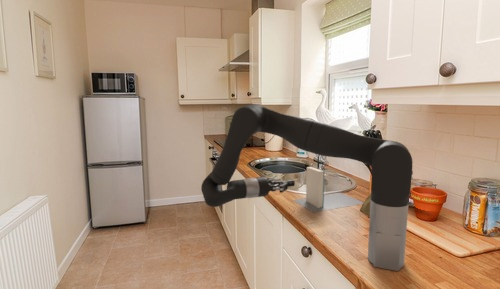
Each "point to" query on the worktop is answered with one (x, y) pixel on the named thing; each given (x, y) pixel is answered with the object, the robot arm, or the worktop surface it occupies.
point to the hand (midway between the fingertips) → (293, 182)
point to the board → (330, 202)
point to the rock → (366, 206)
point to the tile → (315, 186)
